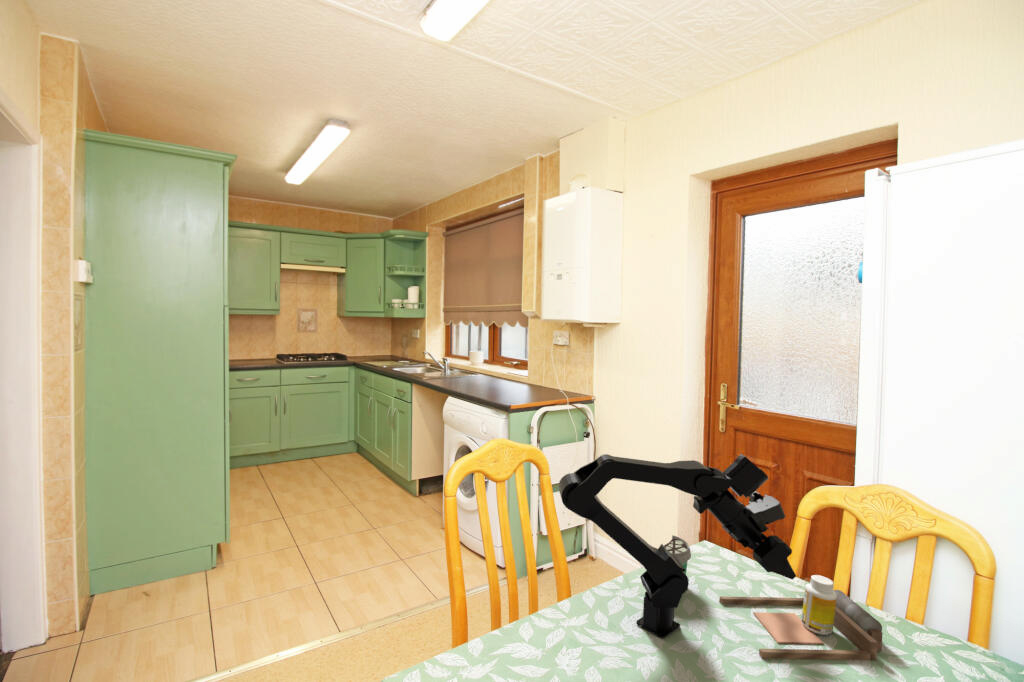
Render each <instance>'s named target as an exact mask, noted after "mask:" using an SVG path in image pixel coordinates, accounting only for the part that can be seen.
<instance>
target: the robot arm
mask: <svg viewBox="0 0 1024 682" xmlns="http://www.w3.org/2000/svg"><path fill="white" fill-rule="evenodd" d="M613 479H617V480H624V481H632V482H640V483H646V484H647V483H648V484H655V485H662V486H663V485H664V486H668V487H672V488H674V489H677V490H678V491H681V492H684V493H687V494H690V495H692V496H693V505H692V506H693V508H694V510H696V511H697V512H698V514H700V515H701V514H703V513H705V512H706V510H708V511H709V512H710V514H712V515H713V516H714V517H715V519H717V520H718V522H719V523H720V524H721V527H722V529H723V530H724V531H725V532H726V533H727V534H728V535H729V536H730V537H731V538H733V539H734V541H736V542H737V543H739V544H741V546H742V547H743V548H745V549H746V548H749V549H751V550H752V558H753V559H754V560H755V561H756V562H757V563H758V564H759V566H761V567H762V569H764V570H765V571H766V572H767V573H775V574H776V575H780V576H782V577H785V578H787V579H789V580H794V579H795V578H796V577H797V575H796V573H795V570H794V569H793V568H792V565H791V564H790V561H789V559H788V557H789V556H791V554H792V553H793V549H792V548H791V547H790V546H789V544H787V542H785V541H783V540H782V539H781V538H780V537H779V536H777V535H768V536H767V535H765V534H764V533H765V532H767V531H768V530H769V527H767V525H769V524H772V523H775V522H777V521H779V520H780V521H781V520H784V519H785V518H786V514H785V511H784V509H783V506H782V505H781V502H780V501H779V500H778V499H776V498H775V497H773V496H772V495H767V494H763V495H762V494H761V493H760V492H758V491H757V490H758V489H759V488H760V487H762V486H763V485H764V484H765V482H767V481H768V480H769V476H768V474H767V473H765V472H764V471H763V469H762V468H760V467H759V466H757V465H756V464H755V463H754V462H752V461H751V460H750V459H749V458H748V457H747V456H746V455H744V454H741V453H740V454H739V455H737V457H735V459H734V461H733V462H732V463H731V464H729V466H728V467H727V468H725V470H723V471H722V470H720V469H719V468H717V467H710V466H705V464H703V463H701V462H700V461H698V460H694V459H693V460H678V461H677V460H676V461H673V462H659V461H651V460H643V459H638V458H637V459H636V458H629V457H621V456H613V455H610V454H601V455H600V456H598V457H597V458H596V459H594V460H593V461H592V462H589V463H587V464H585V465H583V466H581V467H580V468H578V469H577V470H576V471H574V472H571V473H570V472H569V473H567V474H565V475H563V476H562V477H561V479H560V480H559V483H558V491H559V495H560V498H561V502H562V504H563V505H564V507H565V508H566V509H567V510H568V511H571V512H572V513H574V514H576V515H577V516H579V517H581V518H584V519H586V520H588V521H591V522H592V523H593V524H595V525H596V526H597V527H598V528H599V529H600V530H602V532H604V533H605V534H606V535H607V536H609V537H610V538H611V539H612V540H613V541H614V542H616V544H618V545H619V546H620V547H621V548H622V549H623V550H625V551H626V552H627V553H628V555H630V556H631V557H632V558H634V559H635V561H637V562H638V563H639V564H640V565H641V566H642V567H643V568H644V569H645V571H644V572H643V573H642V574H641V575H640V581H641V584H642V586H643V588H644V590H645V593H644V597H643V609H642V610H643V613H642V616H641V617H640V618H638V619H637V620H636V625H638V626H640V627H641V628H643V629H645V630H647V631H648V632H650V633H651V634H654V636H657V637H659V638H660V639H665V638H666V637H668V636H669V635H671V634H672V633H674V632H675V631H677V630H678V629H680V627H681V624H680V623H679V622H677V621H676V620H674V619H675V609H677V608H678V606H679V604H680V602H681V599H682V598H683V595H685V593H686V591H687V590H688V589H689V586H690V585H689V577H688V575H687V573H686V574H685V573H684V571H686V572H687V570H685V568H684V567H683V565H682V564H681V563H680V561H679V560H678V558H677V557H676V555H675V554H672V553H670V552H669V551H668V550H667V549H666V548H665V547H664V545H665V544H663V543H661V544H660V546H659V547H658V548H657V547H655V546H652V545H651V544H649V543H648V542H647V541H646V540H644V538H643V537H642V536H640V535H639V533H636V531H635V530H633V529H632V528H631V527H630V526H629V525H628V524H627V523H625V521H623V519H621V518H620V517H619V516H618V515H617V514H616V513H614V512H613V511H612V510H611V509H610V508H608V507H607V506H606V505H605V504H604V503H603V502H602V501H601V500H600V498H599V497H598V496H597V495H598V494H599V493H600V492H601V491H602V490H603V489H604V487H605V486H606V485H607V484H608V483H609V482H610V481H612V480H613ZM729 489H730V490H732V492H733V493H735V495H737V496H738V497H739V498H742V497H744V498H745V499H746V498H749V500H748V504H747V505H745V504H744V503H742V502H740V501H739V499H737V498H736V496H735V495H734V494H733V493H732V492H731V491H730V490H729Z"/></svg>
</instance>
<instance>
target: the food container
mask: <svg viewBox="0 0 1024 682" xmlns="http://www.w3.org/2000/svg"><path fill="white" fill-rule="evenodd" d="M663 545H664V547H665V548H666V549H667V550H668V551H669V552H670V553H672V554H675V555H676V557H677V558H678V560H679V561H680V563H681V564H682V565H683V567H684V568H685V570H686V571H684V573H685V574H686V575H687V570H688V569H687V568H688V561H689V560H690V559H691V558H692V553H691V552H692V551H691V548H690V545H689V544H688V542H687V541H686V540H684V539H683V538H681V537H679V536H676V535H673V534H672V536H671V540H670V541H669V542H668V543H666V544H663Z"/></svg>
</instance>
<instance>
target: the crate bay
mask: <svg viewBox="0 0 1024 682" xmlns="http://www.w3.org/2000/svg"><path fill="white" fill-rule="evenodd" d="M833 591H834V592H835V593H836V595H837V599H836V607H835V615H834V624H833V628H835V629H836V630H837V631H839V632H840V633H841V634H842V635H843V636H844V637H845V638H846V639H847V640H848V641H849V642H850V643H851V644H852V645H853V646H854V647H856V648H857V650H855V649H854V650H850V649H849V650H848V649H846V650H845V649H802V648H801V649H795V648H794V649H793V648H759V649H758V655H759V657H760V658H761V659H776V660H777V659H779V660H781V659H785V660H786V659H787V660H827V661H828V660H829V661H830V660H831V661H833V660H834V661H835V660H837V661H841V660H842V661H878V652H882V649H883V633H884V632H883V626H882V623H881V622H880V621H878V620H877V619H876V618H875V617H874V616H872V615H871V613H869V612H868V611H867V610H865V609H864V608H863V607H861V605H859V604H858V603H857V602H855V601H854V600H853V599H852V598H851V597H850V596H848V595H847V594H846V593H845V592H844V591H842V590H839V589H833ZM803 602H804V597H767V596H766V597H763V596H723V595H722V596H719V603H720V605H743V606H745V605H746V606H748V605H750V606H797V607H800V606H801V607H803ZM752 614H753V616H754V617H756V619H757V621H759V622H760V624H761V625H762V626H763V627H764V629H765V630H766V631H767V632H768V634H769V635H770V636H771V637H772V639H774V641H775V642H776V643H777V644H780V645H781V644H783V645H785V644H787V645H789V644H790V645H792V644H793V645H824V641H822V640H821V638H820V637H819V636H818V635H816V633H815V632H812V631H810V630H809V629H807V628H806V627H805V626H804V625H803V624H802V618H800V616H798V615H797V614H796V613H795V612H753V613H752Z"/></svg>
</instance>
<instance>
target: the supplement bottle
mask: <svg viewBox="0 0 1024 682" xmlns="http://www.w3.org/2000/svg"><path fill="white" fill-rule="evenodd" d="M809 582H810V583H807V584H805V587H804V596H803V598H804V602H803V606H802V610H801V611H802V612H801V620H802V624H803V625H804V626H805V627H806V628H807V629H809V630H810V631H812V632H814V634H818V635H823V636H827V635H831V634H832V633H833V631H834V630H833V629H834V626H833V624H834V615H835V607H836V599H837V595H836V593H835V592H834V591H833V590H834V581H833V580H832V579H830V578H828V577H825V576H823V575H819V574H814V575H813V574H812V575H811V576H810V581H809Z"/></svg>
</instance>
